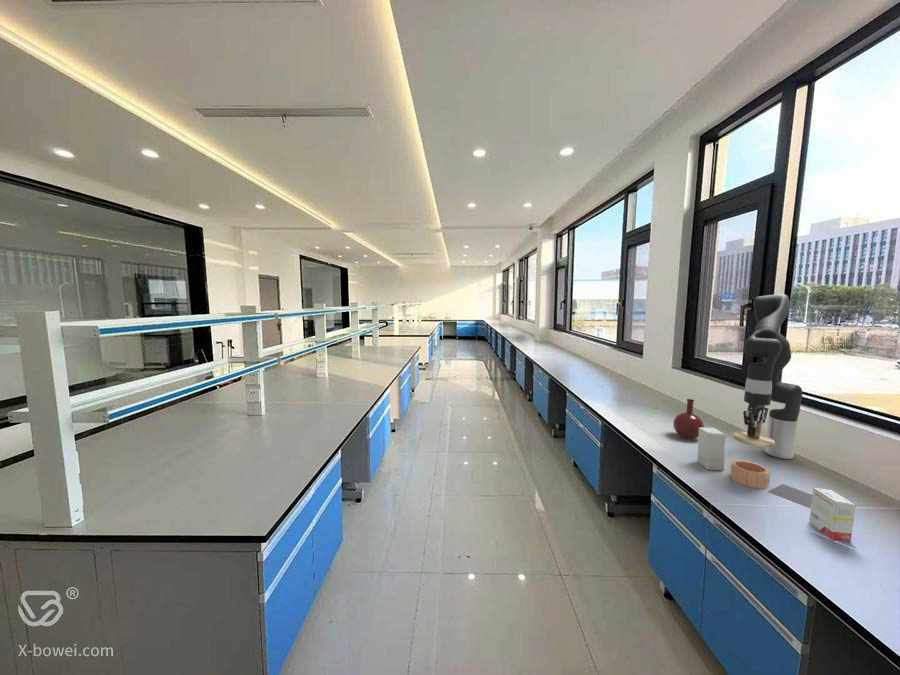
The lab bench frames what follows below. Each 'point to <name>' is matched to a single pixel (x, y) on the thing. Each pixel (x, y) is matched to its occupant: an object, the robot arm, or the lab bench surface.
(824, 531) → the ink box
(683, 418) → the red vase
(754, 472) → the bowl
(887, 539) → the lab bench surface
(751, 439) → the lid
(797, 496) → the mat
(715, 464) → the skincare box
